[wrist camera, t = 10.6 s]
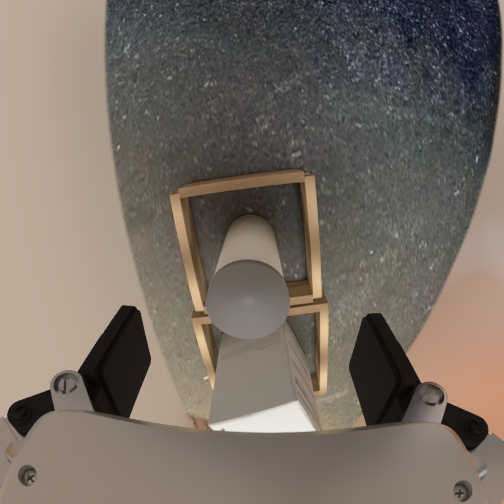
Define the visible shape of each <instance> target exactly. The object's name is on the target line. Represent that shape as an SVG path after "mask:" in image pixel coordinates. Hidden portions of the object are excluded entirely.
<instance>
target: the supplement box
mask: <svg viewBox="0 0 504 504" xmlns="http://www.w3.org/2000/svg"><path fill="white" fill-rule="evenodd" d="M208 425H209V426H210V427H211V428H212V429H213V430H217V431H233V432H264V433H276V432H309V431H322V428H321V424H320V419H319V414H318V409H317V405H316V401H315V396H314V391H313V386H312V381H311V377H310V372H309V367H308V362H307V358H306V355H305V353H304V352H303V350H302V348H301V346H300V344H299V342H298V341H297V339H296V337H295V335H294V333H293V331H292V329H291V328H290V326H289V324H288V322H287V320H285V321H284V323H283V324H282V325H281V326H280V327H279V328H278V329H277V330H276V331H274V332H273V333H271V334H269V335H267V336H264V337H261V338H257V339H240V338H236V337H232V336H230V335H227V334H226V333H223V334H222V335H221V342H220V348H219V355H218V361H217V368H216V375H215V382H214V389H213V395H212V402H211V410H210V416H209V424H208Z"/></svg>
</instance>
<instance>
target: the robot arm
mask: <svg viewBox="0 0 504 504" xmlns="http://www.w3.org/2000/svg"><path fill="white" fill-rule="evenodd" d="M150 363H151V356H150V352H149V348H148V344H147V340H146V335H145V331H144V326H143V322H142V317H141V313H140V311H139V310H137V308H136V307H135V306H126V305H123V306H121V308H120V309H119V311H118V312H117V314H116V315H115V316H114V318H113V319H112V321H111V322H110V324H109V325H108V327H107V328H106V330H105V331H104V333H103V334H102V335H101V336H100V338H99V339H98V341H97V342H96V344H95V345H94V347H93V348H92V350H91V352H90V353H89V355H88V356H87V358H86V359H85V361H84V362H83V364H82V366H81V367H80V369H79V370H78V372H76V371H72V370H66V371H62V372H60V373H58V374H56V375H55V376H54V377H53V379H52V380H51V383H50V390H47V391H45V392H42V393H39V394H36V395H34V396H31V397H28V398H25V399H22V400H19V401H17V402H15V403H14V404H13V405H11V407H10V408H9V410H8V413H7V416H8V417H7V418H6V419H5V418H4V417H2V418H0V504H500V503H501V502H502V500H503V499H504V441H503V440H501V439H500V438H499V437H498V436H496V435H495V434H494V433H492V434H491V435H489V433H488V425H487V423H486V422H485V420H484V419H483V418H481V417H479V416H477V415H475V414H473V413H470V412H468V411H466V410H463V409H461V408H459V407H457V406H454V405H452V404H450V403H447V399H448V396H447V393H446V392H445V390H444V388H443V387H441V386H440V385H438V384H436V383H433V382H424V383H421V382H420V380H419V378H418V376H417V374H416V372H415V371H414V369H413V367H412V365H411V363H410V361H409V359H408V358H407V356H406V354H405V352H404V351H403V349H402V347H401V345H400V344H399V343H398V341H397V340H396V338H395V336H394V334H393V333H392V331H391V329H390V327H389V326H388V324H387V322H386V321H385V319H384V317H383V316H382V314H381V313H372V314H367V316H366V317H363V319H362V322H361V326H360V329H359V333H358V337H357V340H356V343H355V347H354V350H353V353H352V357H351V360H350V363H349V370H350V374H351V377H352V380H353V383H354V386H355V389H356V392H357V396H358V399H359V402H360V405H361V409H362V412H363V415H364V418H365V421H366V425H367V426H364V427H355V428H345V429H336V430H324V431H309V432H276V433H264V432H233V431H217V430H206V429H196V428H187V427H179V426H172V425H164V424H158V423H152V422H147V421H141V420H136V419H130V418H129V417H130V414H131V411H132V409H133V406H134V404H135V401H136V399H137V396H138V393H139V391H140V388H141V386H142V383H143V381H144V378H145V376H146V373H147V371H148V368H149V366H150Z"/></svg>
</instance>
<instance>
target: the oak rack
mask: <svg viewBox="0 0 504 504" xmlns="http://www.w3.org/2000/svg"><path fill="white" fill-rule="evenodd" d="M297 182H300V189H301V200H302V210H303V222H304V234H305V247H306V262H307V278H308V280H305V281H298V282H290V283H286V285H287V288H288V293H289V297H290V309H289V313H288V316H291V315H299V314H306V313H314V312H315V342H316V374H310V377H311V381H312V386H313V391H314V396H317V395H323V394H326V388H327V364H328V301H327V299H326V297H325V294H324V292H323V290H322V287H321V261H320V241H319V225H318V211H317V199H316V187H315V176H314V175H312V174H310V173H304V171H302V170H300V169H292V170H283V171H274V172H265V173H257V174H249V175H242V176H234V177H227V178H221V179H214V180H208V181H202V182H196V183H190V184H186V185H184V186H182V187H180V188H178V191H176V192H174V193H173V194H171V195H170V200H171V206H172V211H173V216H174V221H175V226H176V231H177V235H178V240H179V245H180V249H181V254H182V258H183V262H184V267H185V271H186V275H187V279H188V284H189V288H190V292H191V296H192V300H193V304H194V311H193V314H192V317H191V320H192V323H193V327H194V330H195V334H196V337H197V341H198V344H199V347H200V351H201V354H202V357H203V360H204V364H205V367H206V370H207V373H208V376H209V379H210V382H211V385H212V388H213V389H214V382H215V375H216V368H217V361H218V355H217V351H216V347H215V343H214V340H213V336H212V332H211V328H210V324H213V323H212V321H211V320H210V318H209V316H208V314H207V310H206V305H205V300H206V294H207V287H206V282H205V277H204V273H203V268H202V263H201V259H200V254H199V249H198V244H197V239H196V234H195V229H194V223H193V218H192V213H191V207H190V202H189V197H191V196H198V195H204V194H210V193H217V192H224V191H231V190H238V189H246V188H253V187H261V186H270V185H278V184H287V183H297Z"/></svg>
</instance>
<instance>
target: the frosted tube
mask: <svg viewBox="0 0 504 504" xmlns="http://www.w3.org/2000/svg"><path fill="white" fill-rule="evenodd" d="M205 305H206V310H207V314H208V316H209V318H210V320H211V321H212V323H213V324H214V325H215V326H216V327H217V328H218V329H219V330H221V331H222V332H224V333H226V334H227V335H230V336H232V337H236V338H240V339H257V338H261V337H264V336H267V335H269V334H271V333H273V332H274V331H276V330H277V329H278V328H279V327H280V326H281V325H282V324H283V323H284V321H285V320H286V318H287V316H288V313H289V309H290V297H289V293H288V288H287V285H286V282H285V280H284V277H283V273H282V268H281V263H280V258H279V254H278V249H277V244H276V240H275V235H274V231H273V229H272V227H271V225H270V224H269V223H268V222H267V221H266V220H265V219H264V218H262V217H260V216H256V215H245V216H241V217H239V218H238V219H236V220H235V221H234V222H233V223H232V224H231V225H230V227H229V229H228V232H227V235H226V238H225V241H224V244H223V248H222V251H221V254H220V257H219V261H218V264H217V267H216V271H215V274H214V276H213V278H212V280H211V282H210V285H209V288H208V291H207V294H206V300H205Z"/></svg>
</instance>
